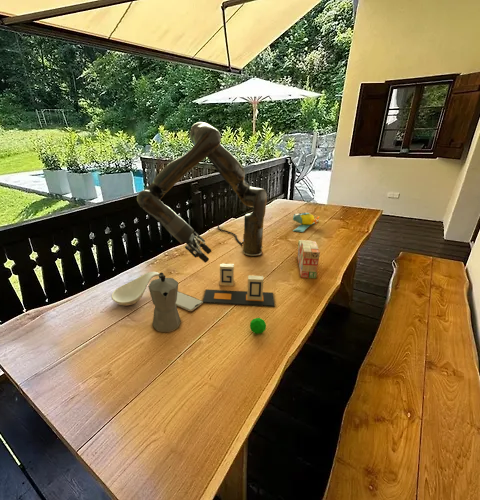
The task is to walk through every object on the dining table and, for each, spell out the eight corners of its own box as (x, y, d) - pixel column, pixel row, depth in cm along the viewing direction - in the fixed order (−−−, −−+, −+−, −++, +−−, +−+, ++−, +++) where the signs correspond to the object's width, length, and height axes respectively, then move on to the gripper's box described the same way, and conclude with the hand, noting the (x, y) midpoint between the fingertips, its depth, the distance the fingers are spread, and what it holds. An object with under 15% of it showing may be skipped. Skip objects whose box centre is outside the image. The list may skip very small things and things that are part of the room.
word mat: (202, 303, 111) (202, 301, 110) (205, 290, 119) (205, 289, 119) (274, 306, 107) (274, 305, 107) (272, 293, 116) (272, 292, 115)
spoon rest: (125, 314, 105) (122, 296, 102) (106, 302, 112) (103, 285, 110) (173, 287, 122) (172, 271, 119) (154, 279, 129) (153, 264, 126)
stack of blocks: (296, 257, 147) (299, 233, 142) (310, 258, 146) (313, 234, 141) (300, 277, 127) (304, 251, 123) (316, 278, 126) (320, 251, 121)
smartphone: (173, 289, 119) (203, 301, 110) (174, 291, 119) (203, 302, 111) (160, 297, 113) (191, 310, 105) (160, 299, 114) (191, 312, 105)
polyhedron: (254, 325, 98) (255, 312, 96) (268, 331, 95) (269, 318, 93) (246, 332, 94) (247, 320, 93) (260, 339, 91) (261, 326, 90)
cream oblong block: (220, 281, 125) (220, 263, 122) (233, 282, 125) (233, 263, 122) (219, 285, 123) (219, 266, 119) (233, 286, 122) (233, 267, 119)
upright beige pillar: (247, 295, 114) (248, 275, 111) (261, 295, 113) (263, 275, 110) (247, 299, 111) (248, 279, 108) (262, 300, 110) (263, 280, 107)
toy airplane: (309, 219, 174) (285, 216, 183) (308, 233, 177) (284, 229, 186) (325, 209, 194) (302, 206, 203) (324, 222, 197) (301, 218, 206)
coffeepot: (183, 334, 95) (180, 283, 88) (153, 338, 93) (148, 288, 86) (177, 307, 108) (174, 262, 101) (150, 311, 107) (146, 265, 100)
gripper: (181, 228, 109) (213, 258, 112) (188, 217, 122) (217, 244, 125) (168, 241, 112) (199, 270, 115) (176, 229, 125) (204, 255, 128)
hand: (208, 256), depth 120 cm, fingers open, 8 cm apart
